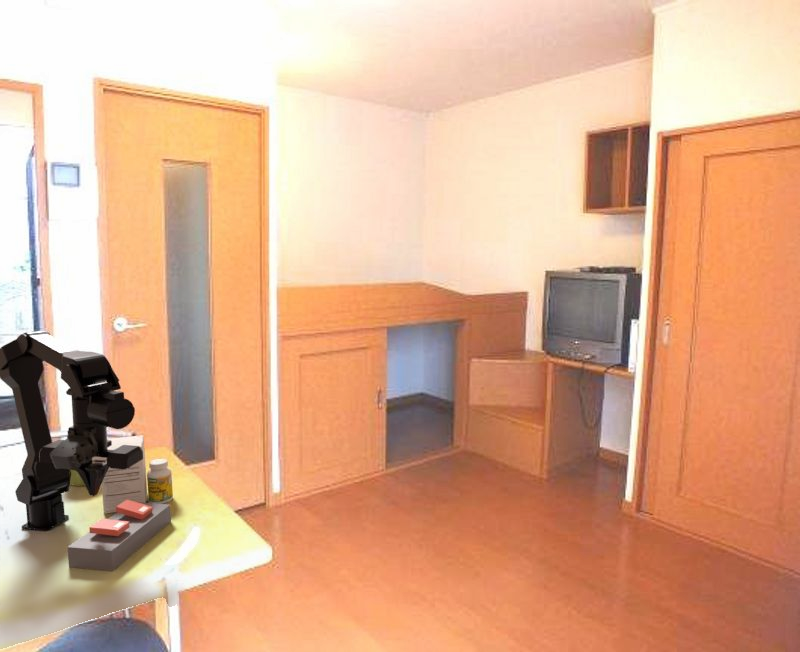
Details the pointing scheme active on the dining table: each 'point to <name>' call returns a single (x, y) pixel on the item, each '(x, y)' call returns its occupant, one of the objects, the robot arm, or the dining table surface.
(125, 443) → the supplement box
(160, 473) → the supplement bottle
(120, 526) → the block
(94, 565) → the long grey block
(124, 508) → the rocker back
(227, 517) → the dining table surface
